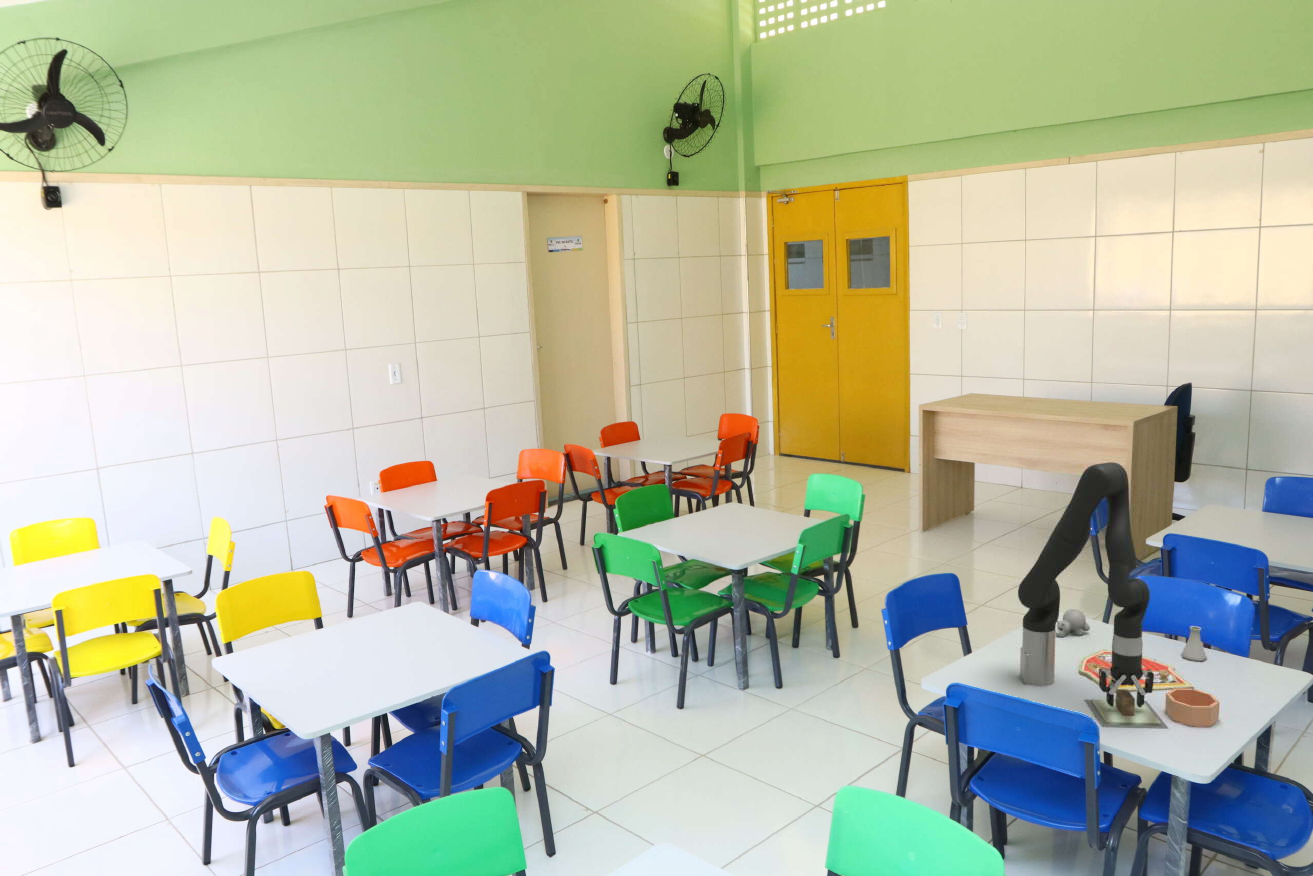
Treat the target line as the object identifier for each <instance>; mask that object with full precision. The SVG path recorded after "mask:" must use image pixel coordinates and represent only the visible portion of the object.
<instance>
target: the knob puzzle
mask: <svg viewBox="0 0 1313 876" xmlns="http://www.w3.org/2000/svg"><path fill="white" fill-rule="evenodd" d="M1111 666H1112V650H1108V649H1101V650H1098V651H1096V652H1094V653H1091V654H1089V655H1086V656H1085V657H1084V658H1082V659H1081V661H1080V665H1079V669H1078V675H1080V676H1082V677H1086V678H1088V679H1089V680H1090V681H1092V682H1094V683H1095V684H1096V685H1097V686H1099V669H1103V670H1110V668H1111ZM1148 669H1149V670H1151V671H1152V672H1153V674H1154V681H1153V690H1152V692H1154V691H1155V692H1158V691H1171V690H1173V689H1174V688H1183V689H1195V686H1194V685H1193V684H1191V682H1190V681H1188V680H1187V679H1185V678H1184V677H1183V676H1181V674H1179V672H1177V671H1174V670H1176V668H1175V666H1173V665H1170V664H1168V663H1166V662H1165V663H1164V662H1161V661H1158V660H1156V659H1152V658H1149V657H1147V656H1144V655H1142V670H1144V671H1147V670H1148ZM1112 678H1113V676H1112V675H1111V674H1110V675H1109V676H1108V678H1106V684H1107V686H1108V685H1109V683H1110V680H1111V679H1112ZM1145 679H1146V678H1145V677H1144V675H1143V676H1142V677H1141V678H1140V679H1139V680H1138V681H1139V683H1140V684H1141V686H1142V688H1143V687H1145ZM1118 689H1120V690H1128V691H1129V692H1130V693H1137V692H1138V690H1137V688H1136V686H1135V685H1133V686H1130V685H1120V686H1119V688H1118ZM1113 694H1116V690H1115V692H1114V693H1113Z"/></svg>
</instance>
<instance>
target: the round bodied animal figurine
mask: <svg viewBox="0 0 1313 876" xmlns="http://www.w3.org/2000/svg"><path fill="white" fill-rule="evenodd" d="M1086 618H1087V617H1086V616H1085V614H1084V612H1083V611H1081V610H1079V609H1077V608H1071V609H1070V608H1069V609H1068V610H1066V611H1065V612H1064V614H1063V615H1062V620H1061V621H1059V619H1058V620H1057V622H1056V627H1057V629H1055V635H1057V636H1058V637H1060V638H1064V637H1065V636H1066V634H1067V633H1070V634H1073V633H1074V635H1075V636H1077V637H1080V636H1083V634H1084V632H1088V631H1089V630H1090V629H1091V627H1090V625H1089V624H1088V623H1087V621H1086V620H1087V619H1086Z"/></svg>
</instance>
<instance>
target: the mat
mask: <svg viewBox="0 0 1313 876" xmlns="http://www.w3.org/2000/svg"><path fill="white" fill-rule="evenodd" d="M1083 701H1084V702H1085V704H1086V705H1087V707H1088V708H1089V710H1090V712H1091V713H1092V714H1093V716H1094V717H1095V719H1096V720H1097V722H1098V723H1099V725H1100V726H1101V728H1117V729H1119V728H1121V729H1122V728H1123V729H1124V728H1125V729H1126V728H1127V729H1159V730H1160V729H1162V730H1163V729H1164V730H1169V727H1168V726H1167V724H1166V723H1165V722H1164V721H1163V720H1162V718H1161V717H1160V716H1159V715H1158V713H1157V712H1156V710H1154V708H1153V707H1152V706H1151V705H1150V703H1148V701H1147V700H1144V703H1145V704H1146V705H1147V706H1148V708H1149V709H1150V710H1151V711H1152V713H1153V714H1154V715H1155V716H1156V718H1157V719H1158V720H1159V721H1160V723H1161V726H1143V725H1106V724H1105V722H1104V721H1103V719H1102V718H1101V716H1100V715H1099V713H1098V712H1097V710H1096V709H1095V707H1094V706H1093V704H1092V703H1091V699H1083Z"/></svg>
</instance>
